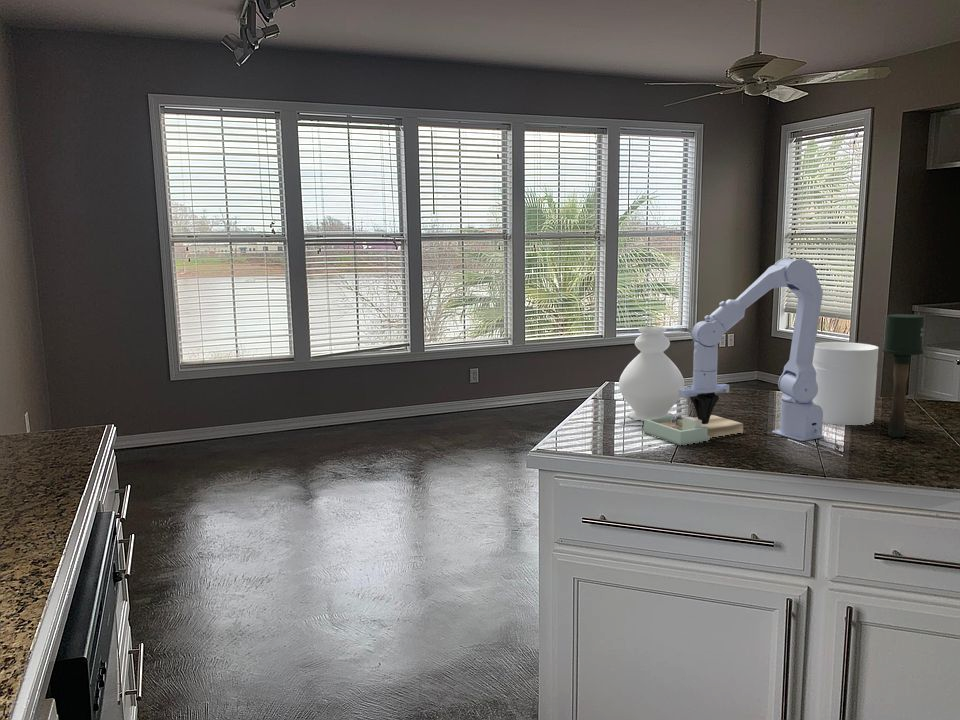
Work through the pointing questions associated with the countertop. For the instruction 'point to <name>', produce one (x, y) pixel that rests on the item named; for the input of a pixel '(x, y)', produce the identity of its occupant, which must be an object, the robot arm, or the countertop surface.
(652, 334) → the decorative vase
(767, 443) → the countertop surface
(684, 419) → the cream tile
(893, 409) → the stick grenade
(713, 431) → the board
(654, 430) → the tray
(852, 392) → the canister
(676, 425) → the terracotta tile
